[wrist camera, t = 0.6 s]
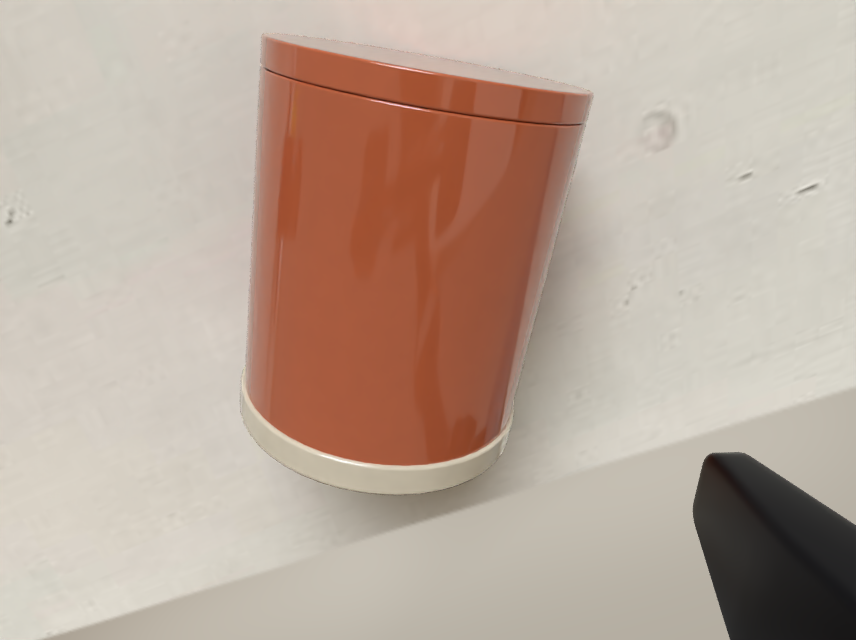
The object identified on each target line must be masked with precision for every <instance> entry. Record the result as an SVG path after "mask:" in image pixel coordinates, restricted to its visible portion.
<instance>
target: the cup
mask: <svg viewBox="0 0 856 640" xmlns="http://www.w3.org/2000/svg"><path fill="white" fill-rule="evenodd" d="M260 62H261V67H260V79H259V99H258V120H257V140H256V161H255V181H254V202H253V222H252V243H251V263H250V284H249V305H248V325H247V346H246V365H245V367H244V369H243V372H242V377H241V387H240V412H241V415H242V419H243V422H244V424H245V426H246V428H247V430H248V432H249V434H250V435H251V437H252V438H253V439H254V440H255V442H256V443H257V444H258V445H259V446H260V447H261V448H262V449H263V450H264V451H265V452H266V453H267V454H268V455H270V456H271V457H272V458H274V459H275V460H277V461H278V462H279V463H281V464H282V465H284V466H285V467H287V468H289V469H291V470H293V471H295V472H297V473H299V474H300V475H303V476H305V477H308V478H310V479H313V480H315V481H318V482H320V483H324V484H327V485H330V486H334V487H337V488H341V489H346V490H351V491H356V492H362V493H371V494H380V495H410V494H423V493H429V492H435V491H440V490H444V489H447V488H451V487H454V486H458V485H460V484H462V483H465V482H467V481H469V480H472V479H474V478H475V477H477V476H478V475H480V474H482V473H483V472H485V471H486V470H487V469H488V468H489V467H491V466H492V465H493V464H494V463H495V462H496V461H497V459H498V458H499V457H500V455H501V454H502V453H503V451H504V448H505V446H506V444H507V441H508V437H509V433H510V430H511V426H512V421H513V417H514V405H513V403H514V399H515V395H516V391H517V387H518V384H519V380H520V376H521V372H522V368H523V364H524V361H525V357H526V353H527V349H528V345H529V341H530V338H531V334H532V330H533V326H534V322H535V318H536V315H537V311H538V307H539V303H540V299H541V295H542V292H543V288H544V284H545V280H546V276H547V272H548V269H549V265H550V261H551V257H552V253H553V249H554V246H555V242H556V238H557V234H558V230H559V226H560V223H561V219H562V215H563V211H564V207H565V203H566V200H567V196H568V192H569V188H570V184H571V180H572V177H573V173H574V169H575V165H576V161H577V157H578V154H579V150H580V146H581V142H582V138H583V134H584V131H585V127H586V121H587V119H588V115H589V111H590V108H591V104H592V100H593V92H591V91H589V90H586V89H584V88H580V87H577V86H573V85H569V84H565V83H561V82H557V81H553V80H548V79H544V78H539V77H535V76H530V75H526V74H521V73H516V72H511V71H506V70H501V69H496V68H491V67H486V66H481V65H476V64H471V63H466V62H460V61H455V60H450V59H444V58H439V57H433V56H427V55H422V54H416V53H410V52H405V51H399V50H393V49H387V48H381V47H375V46H369V45H362V44H356V43H349V42H343V41H336V40H329V39H322V38H315V37H307V36H299V35H290V34H279V33H265V34H262V37H261V58H260Z"/></svg>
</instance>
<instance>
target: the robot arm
mask: <svg viewBox="0 0 856 640" xmlns="http://www.w3.org/2000/svg"><path fill="white" fill-rule="evenodd" d="M693 518H694V523H695V527H696V530H697V534H698V537H699V540H700V543H701V547H702V550H703V553H704V556H705V560H706V563H707V566H708V569H709V573H710V576H711V579H712V582H713V586H714V589H715V592H716V595H717V598H718V602H719V605H720V609H721V612H722V615H723V618H724V622H725V625H726V628H727V631H728V634H729V637H730V640H856V525H854V524H853V523H851V522H850V521H848V520H847V519H845V518H844V517H842V516H841V515H839V514H838V513H836V512H835V511H833V510H832V509H830V508H829V507H827V506H826V505H824V504H822V503H821V502H819V501H818V500H816V499H815V498H813V497H812V496H810V495H809V494H807V493H806V492H804V491H803V490H801V489H800V488H798V487H797V486H795V485H793V484H792V483H790V482H789V481H787V480H786V479H784V478H783V477H781V476H780V475H778V474H776V473H775V472H774V471H772V470H770V469H769V468H768V467H766V466H764V465H763V464H761V463H759V462H758V461H757V460H755V459H754V458H752V457H751V456H749V455H747V454H745V453H740V452H730V453H729V452H728V453H712V454H709V455H708V456H707V457H706V458H705V460H704V462H703V465H702V469H701V473H700V478H699V482H698V486H697V490H696V494H695V499H694V503H693Z"/></svg>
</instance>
